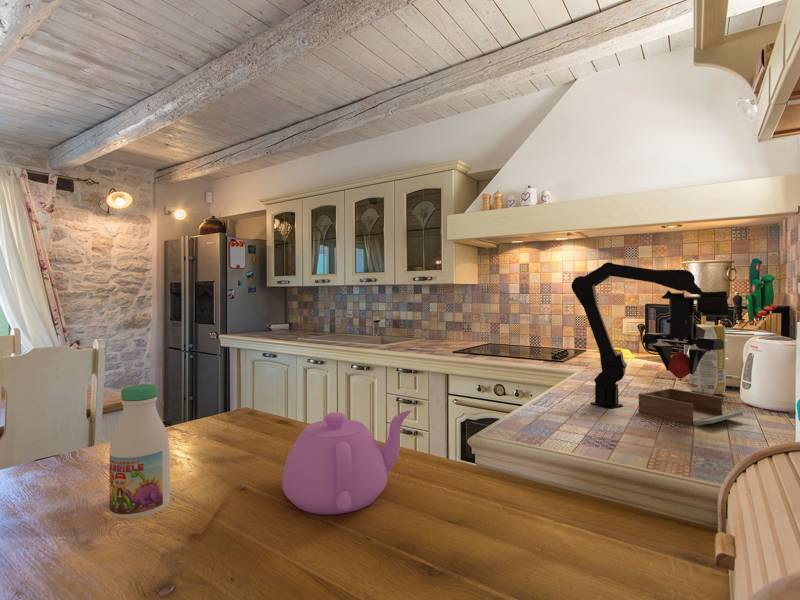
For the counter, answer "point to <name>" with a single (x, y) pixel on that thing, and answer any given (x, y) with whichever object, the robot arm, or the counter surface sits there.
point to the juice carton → (710, 364)
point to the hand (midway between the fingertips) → (680, 372)
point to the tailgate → (718, 418)
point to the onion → (679, 365)
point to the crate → (680, 405)
